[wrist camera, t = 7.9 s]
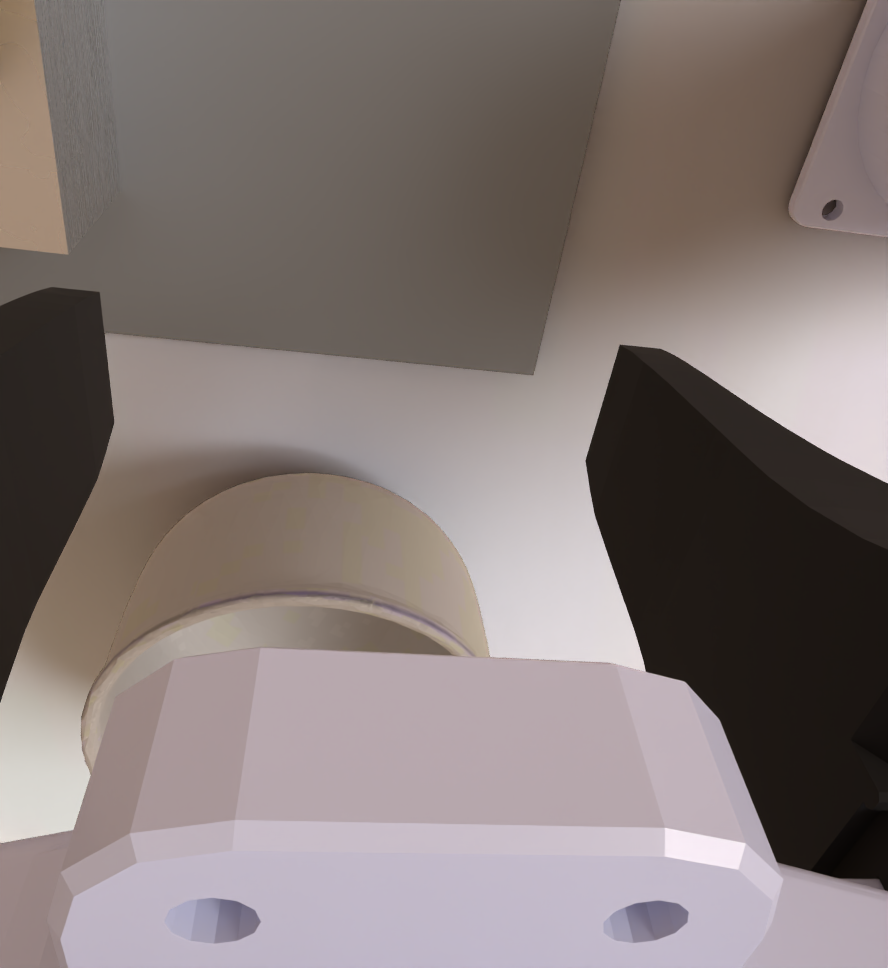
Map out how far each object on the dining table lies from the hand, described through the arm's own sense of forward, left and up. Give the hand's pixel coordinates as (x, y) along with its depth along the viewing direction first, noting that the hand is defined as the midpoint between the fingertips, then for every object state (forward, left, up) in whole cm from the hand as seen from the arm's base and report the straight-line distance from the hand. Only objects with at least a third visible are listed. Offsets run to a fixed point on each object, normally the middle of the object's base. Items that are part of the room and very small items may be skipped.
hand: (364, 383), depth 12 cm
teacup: (0, +14, -11) cm, 18 cm away
